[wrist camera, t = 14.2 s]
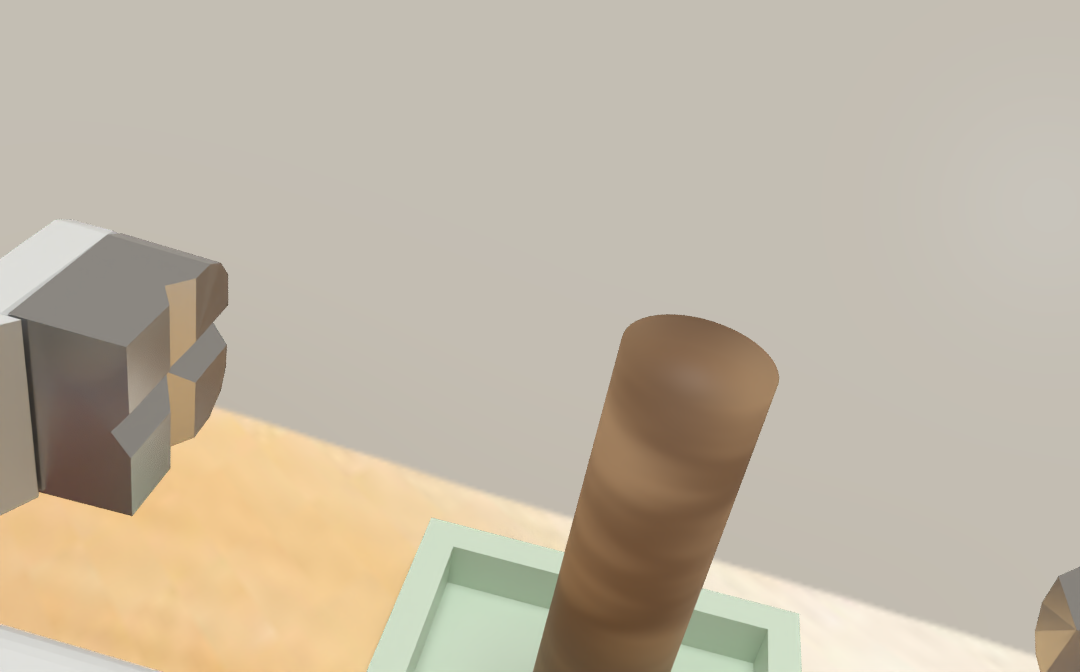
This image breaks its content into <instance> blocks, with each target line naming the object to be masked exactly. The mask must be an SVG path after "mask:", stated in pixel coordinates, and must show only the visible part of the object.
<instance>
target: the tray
mask: <svg viewBox="0 0 1080 672" xmlns="http://www.w3.org/2000/svg"><path fill="white" fill-rule="evenodd" d="M564 553H565V552H561V551H557V550H553V549H550V548H546V547H542V546H538V545H534V544H531V543H527V542H523V541H519V540H515V539H511V538H508V537H504V536H500V535H496V534H492V533H488V532H485V531H481V530H477V529H473V528H469V527H466V526H462V525H458V524H454V523H450V522H446V521H443V520H439V519H435V518H431V520H430V522H429V524H428V527H427V529H426V532H425V534H424V536H423V539H422V541H421V544H420V546H419V548H418V551H417V553H416V555H415V558H414V560H413V563H412V565H411V567H410V570H409V572H408V574H407V577H406V579H405V582H404V584H403V586H402V589H401V591H400V593H399V596H398V598H397V601H396V603H395V605H394V608H393V610H392V612H391V615H390V617H389V620H388V622H387V624H386V627H385V629H384V631H383V634H382V636H381V639H380V641H379V643H378V646H377V648H376V650H375V653H374V655H373V658H372V660H371V662H370V665H369V667H368V669H367V672H533V669H534V665H535V662H536V658H537V654H538V650H539V647H540V643H541V639H542V635H543V632H544V628H545V624H546V620H547V617H548V613H549V609H550V605H551V602H552V598H553V594H554V590H555V587H556V583H557V579H558V575H559V572H560V568H561V564H562V560H563V557H564ZM671 672H802V667H801V644H800V622H799V614H798V613H794V612H791V611H787V610H783V609H779V608H775V607H771V606H768V605H764V604H760V603H756V602H752V601H748V600H745V599H741V598H737V597H733V596H729V595H726V594H722V593H718V592H714V591H710V590H706V589H703V588H702V589H701V592H700V595H699V597H698V600H697V603H696V605H695V608H694V611H693V613H692V616H691V619H690V621H689V624H688V627H687V629H686V632H685V635H684V637H683V640H682V643H681V645H680V648H679V651H678V653H677V656H676V659H675V661H674V664H673V667H672V669H671Z"/></svg>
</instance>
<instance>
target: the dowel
mask: <svg viewBox="0 0 1080 672" xmlns="http://www.w3.org/2000/svg"><path fill="white" fill-rule="evenodd" d="M778 383H779V374H778V370H777V367H776V365H775V363H774V362H773V360H772V359H771V357H770V356H769V355H768V354H767V353H766V352H765V351H764V350H763V349H762V348H761V347H760V346H759V345H757V344H756V343H755V342H753V341H752V340H751V339H749V338H748V337H746V336H744V335H742V334H741V333H739V332H737V331H735V330H733V329H731V328H728V327H726V326H724V325H721V324H718V323H715V322H712V321H709V320H705V319H701V318H697V317H692V316H685V315H668V314H666V315H655V316H649V317H646V318H642V319H640V320H638V321H636V322H634V323H632V324H631V325H630V326H629V327H628V328H627V329H626V330H625V332H624V333H623V336H622V339H621V343H620V347H619V351H618V354H617V358H616V362H615V366H614V369H613V373H612V377H611V381H610V385H609V388H608V392H607V396H606V399H605V403H604V407H603V410H602V414H601V418H600V422H599V426H598V429H597V433H596V437H595V440H594V444H593V448H592V452H591V456H590V459H589V463H588V467H587V470H586V474H585V478H584V482H583V485H582V489H581V493H580V497H579V500H578V504H577V508H576V512H575V515H574V519H573V523H572V527H571V530H570V534H569V538H568V542H567V545H566V549H565V553H564V557H563V560H562V564H561V568H560V572H559V575H558V579H557V583H556V587H555V590H554V594H553V598H552V602H551V605H550V609H549V613H548V617H547V620H546V624H545V628H544V632H543V635H542V639H541V643H540V647H539V650H538V654H537V658H536V662H535V665H534V669H533V672H671V669H672V667H673V664H674V661H675V659H676V656H677V653H678V651H679V648H680V645H681V643H682V640H683V637H684V635H685V632H686V629H687V627H688V624H689V621H690V619H691V616H692V613H693V611H694V608H695V605H696V603H697V600H698V597H699V595H700V592H701V589H702V587H703V584H704V581H705V579H706V576H707V573H708V571H709V568H710V565H711V563H712V560H713V557H714V554H715V552H716V549H717V546H718V544H719V541H720V538H721V536H722V533H723V530H724V528H725V525H726V522H727V520H728V517H729V514H730V512H731V509H732V506H733V504H734V501H735V498H736V496H737V493H738V490H739V488H740V485H741V482H742V479H743V477H744V474H745V472H746V469H747V466H748V464H749V461H750V458H751V456H752V453H753V450H754V448H755V445H756V442H757V440H758V437H759V434H760V431H761V429H762V426H763V423H764V421H765V418H766V415H767V413H768V410H769V407H770V405H771V402H772V399H773V396H774V394H775V391H776V389H777V386H778Z"/></svg>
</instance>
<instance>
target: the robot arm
mask: <svg viewBox="0 0 1080 672" xmlns="http://www.w3.org/2000/svg"><path fill="white" fill-rule="evenodd" d="M227 306H228V274H227V272H226V270H225V269H224V267H223V266H222V264H221V263H219V262H216V261H213V260H210V259H206V258H203V257H199V256H196V255H193V254H189V253H186V252H182V251H179V250H176V249H173V248H169V247H166V246H162V245H159V244H156V243H152V242H149V241H146V240H142V239H139V238H135V237H132V236H129V235H125V234H118V233H116V232H115V231H113V230H109V229H105V228H101V227H97V226H94V225H90V224H86V223H82V222H78V221H75V220H71V219H56V220H54V221H53V222H51V223H50V224H48V225H47V226H46V227H44V228H43V229H41V230H40V231H39V232H37V233H36V234H34V235H33V236H32V237H30V238H29V239H27V240H26V241H25V242H23V243H22V244H21V245H19V246H17V247H16V248H15V249H13V250H12V251H10V252H9V253H8V254H6V255H5V256H3V257H2V258H0V515H2V514H4V513H6V512H8V511H11V510H13V509H15V508H17V507H19V506H21V505H23V504H25V503H27V502H29V501H31V500H33V499H35V498H37V497H38V496H39V492H41V493H45V494H49V495H53V496H57V497H61V498H65V499H69V500H72V501H76V502H80V503H84V504H88V505H92V506H96V507H99V508H103V509H107V510H111V511H115V512H119V513H123V514H126V515H130V516H133V514H134V513H135V512H136V511H137V509H138V508H139V507H140V506H141V504H142V503H143V502H144V501H145V499H146V498H147V497H148V496H149V494H150V493H151V492H152V490H153V489H154V488H155V487H156V485H157V484H158V483H159V482H160V480H161V479H162V478H163V477H164V475H165V474H166V473H167V472H168V470H169V469H170V446H173V445H176V444H178V443H181V442H184V441H186V440H189V439H192V438H194V437H195V436H196V434H197V433H198V432H199V430H200V429H201V428H202V426H203V425H204V424H205V422H206V421H207V420H208V418H209V416H210V414H211V412H212V409H213V407H214V405H215V403H216V400H217V398H218V395H219V393H220V391H221V387H222V382H223V377H224V373H225V368H226V351H227V344H226V343H225V341H224V339H223V338H222V336H221V335H220V333H219V331H218V330H217V328H216V327H215V325H214V323H213V321H214V320H215V319H216V318H217V317H218V316H219V315H220V314H221V312H222V311H223V310H224V309H225V308H226V307H227ZM1035 648H1036V657H1037V661H1038V665H1039V669H1040V672H1080V567H1078V568H1076V569H1074V570H1071V571H1069V572H1067V573H1065V574H1062V575H1060V576H1058V578H1057V580H1056V581H1055V583H1054V584H1053V586H1052V588H1051V589H1050V591H1049V592H1048V594H1047V595H1046V597H1045V599H1044V600H1043V602H1042V605H1041V609H1040V613H1039V617H1038V621H1037V625H1036V629H1035ZM0 672H162V671H159V670H156V669H152V668H149V667H145V666H142V665H139V664H135V663H132V662H129V661H125V660H122V659H118V658H115V657H112V656H108V655H105V654H102V653H98V652H95V651H91V650H88V649H85V648H81V647H78V646H74V645H71V644H68V643H64V642H61V641H58V640H54V639H51V638H47V637H44V636H41V635H37V634H34V633H31V632H27V631H24V630H20V629H17V628H14V627H10V626H7V625H3V624H0Z"/></svg>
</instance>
